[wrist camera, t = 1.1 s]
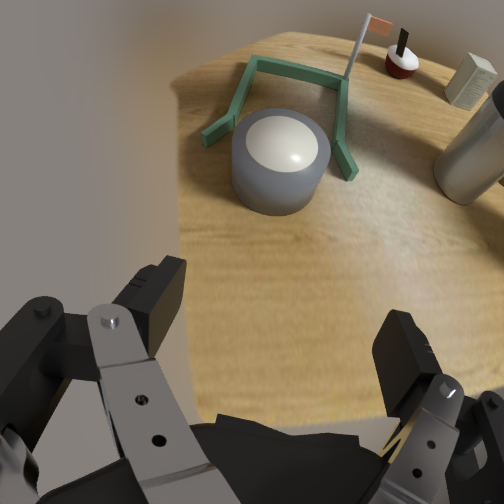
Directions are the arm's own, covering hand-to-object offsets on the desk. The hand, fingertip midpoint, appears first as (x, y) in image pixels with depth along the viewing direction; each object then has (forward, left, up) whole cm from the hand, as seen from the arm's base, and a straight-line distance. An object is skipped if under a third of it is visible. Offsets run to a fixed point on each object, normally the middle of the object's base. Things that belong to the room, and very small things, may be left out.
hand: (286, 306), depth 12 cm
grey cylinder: (-11, -18, -24) cm, 31 cm away
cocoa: (-45, -34, -24) cm, 61 cm away
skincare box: (-57, -25, -24) cm, 66 cm away
